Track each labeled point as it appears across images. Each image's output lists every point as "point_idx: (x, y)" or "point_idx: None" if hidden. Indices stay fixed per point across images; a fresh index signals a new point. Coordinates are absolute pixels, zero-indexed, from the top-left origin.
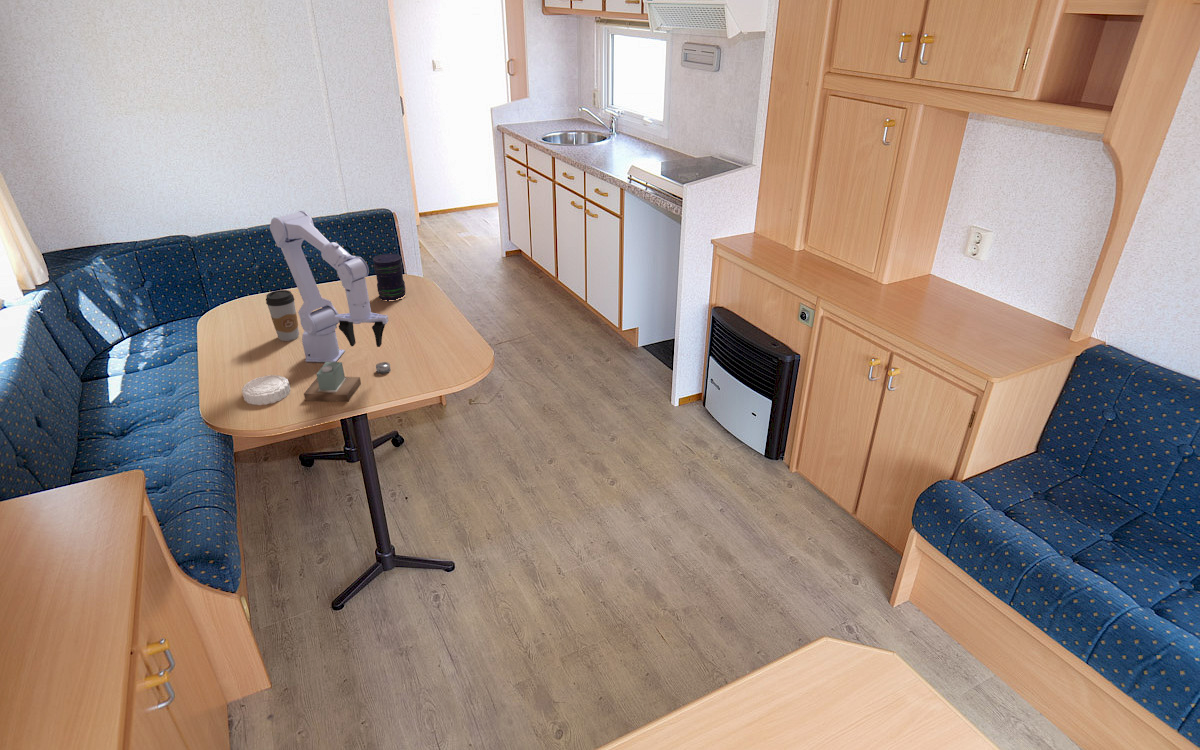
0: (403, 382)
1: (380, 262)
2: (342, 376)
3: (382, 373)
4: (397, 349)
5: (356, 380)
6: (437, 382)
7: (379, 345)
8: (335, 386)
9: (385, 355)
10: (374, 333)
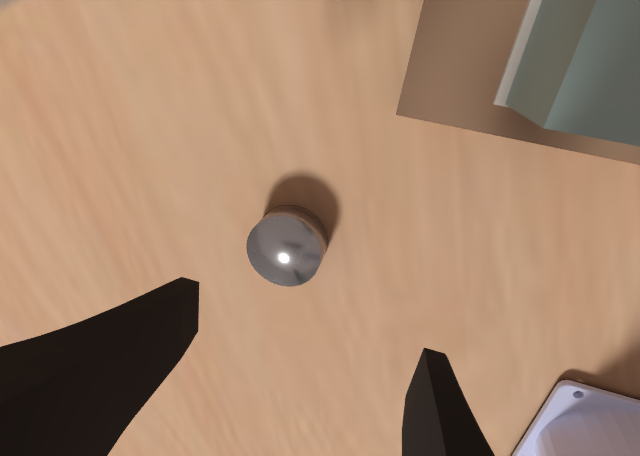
0: (163, 88)
1: None
2: (528, 63)
3: (291, 206)
4: (270, 406)
5: (415, 61)
6: (6, 63)
7: (169, 285)
8: None
9: (311, 375)
10: (59, 370)
